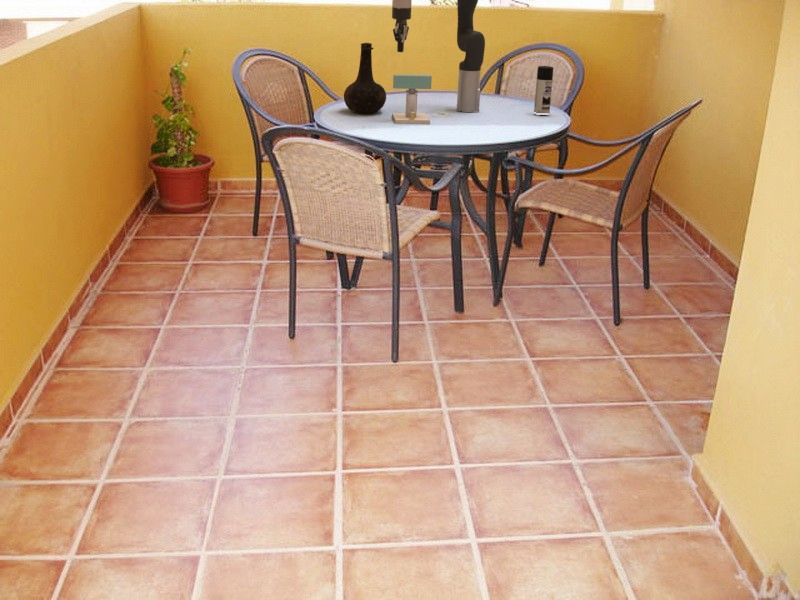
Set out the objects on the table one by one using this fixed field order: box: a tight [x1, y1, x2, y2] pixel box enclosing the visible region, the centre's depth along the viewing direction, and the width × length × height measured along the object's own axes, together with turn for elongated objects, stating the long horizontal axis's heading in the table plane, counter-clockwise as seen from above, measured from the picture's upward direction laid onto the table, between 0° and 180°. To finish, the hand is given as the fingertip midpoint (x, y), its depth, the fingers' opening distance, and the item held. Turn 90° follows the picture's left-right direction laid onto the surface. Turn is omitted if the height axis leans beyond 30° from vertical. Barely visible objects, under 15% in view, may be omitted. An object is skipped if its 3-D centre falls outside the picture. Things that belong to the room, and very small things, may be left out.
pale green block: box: [392, 74, 433, 94], centre depth 337 cm, size 15×3×7 cm, turn 96°
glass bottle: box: [343, 42, 387, 115], centre depth 350 cm, size 18×18×28 cm
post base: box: [391, 93, 431, 125], centre depth 340 cm, size 14×14×10 cm
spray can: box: [533, 65, 554, 114], centre depth 358 cm, size 7×7×20 cm
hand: (400, 51), depth 337 cm, fingers closed
